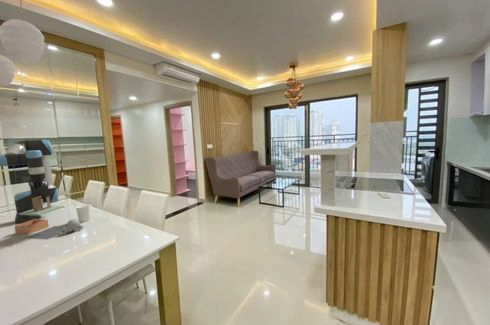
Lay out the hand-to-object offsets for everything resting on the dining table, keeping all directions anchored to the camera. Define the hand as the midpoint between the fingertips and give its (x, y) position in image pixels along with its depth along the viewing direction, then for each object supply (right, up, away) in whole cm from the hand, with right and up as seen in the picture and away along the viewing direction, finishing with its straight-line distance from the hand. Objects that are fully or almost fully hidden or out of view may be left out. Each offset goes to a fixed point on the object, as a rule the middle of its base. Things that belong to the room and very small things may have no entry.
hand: (42, 207), depth 145 cm
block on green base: (0, -3, 0) cm, 3 cm away
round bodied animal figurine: (+21, -17, -1) cm, 27 cm away
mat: (+6, -18, 0) cm, 19 cm away
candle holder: (+14, -15, +21) cm, 29 cm away
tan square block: (-12, -18, +6) cm, 22 cm away
